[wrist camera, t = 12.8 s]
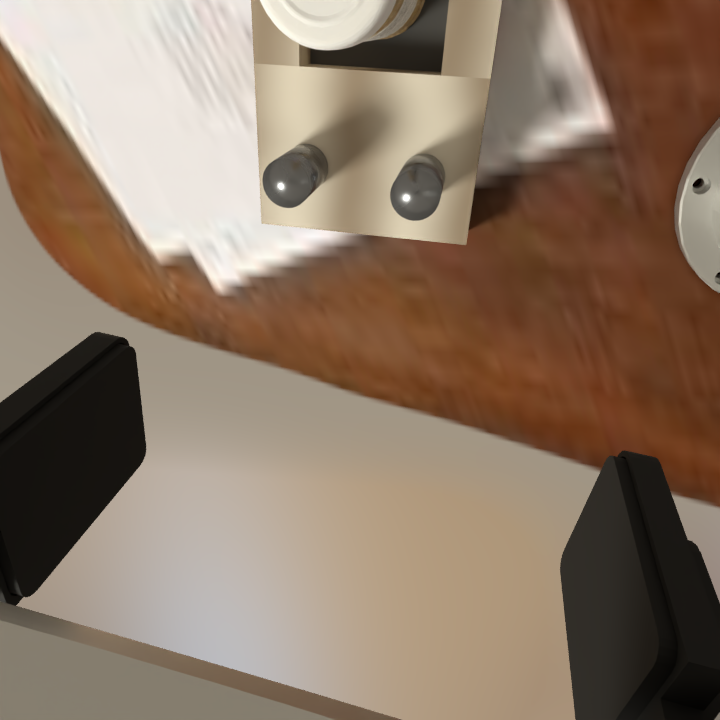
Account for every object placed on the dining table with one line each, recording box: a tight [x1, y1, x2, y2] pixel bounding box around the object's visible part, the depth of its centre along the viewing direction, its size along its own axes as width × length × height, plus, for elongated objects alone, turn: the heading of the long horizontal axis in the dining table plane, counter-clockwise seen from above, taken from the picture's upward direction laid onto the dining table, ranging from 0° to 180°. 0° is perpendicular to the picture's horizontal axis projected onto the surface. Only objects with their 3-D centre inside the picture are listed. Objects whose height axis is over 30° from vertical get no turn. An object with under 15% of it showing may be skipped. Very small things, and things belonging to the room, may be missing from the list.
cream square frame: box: [251, 0, 502, 245], centre depth 27 cm, size 12×17×6 cm
